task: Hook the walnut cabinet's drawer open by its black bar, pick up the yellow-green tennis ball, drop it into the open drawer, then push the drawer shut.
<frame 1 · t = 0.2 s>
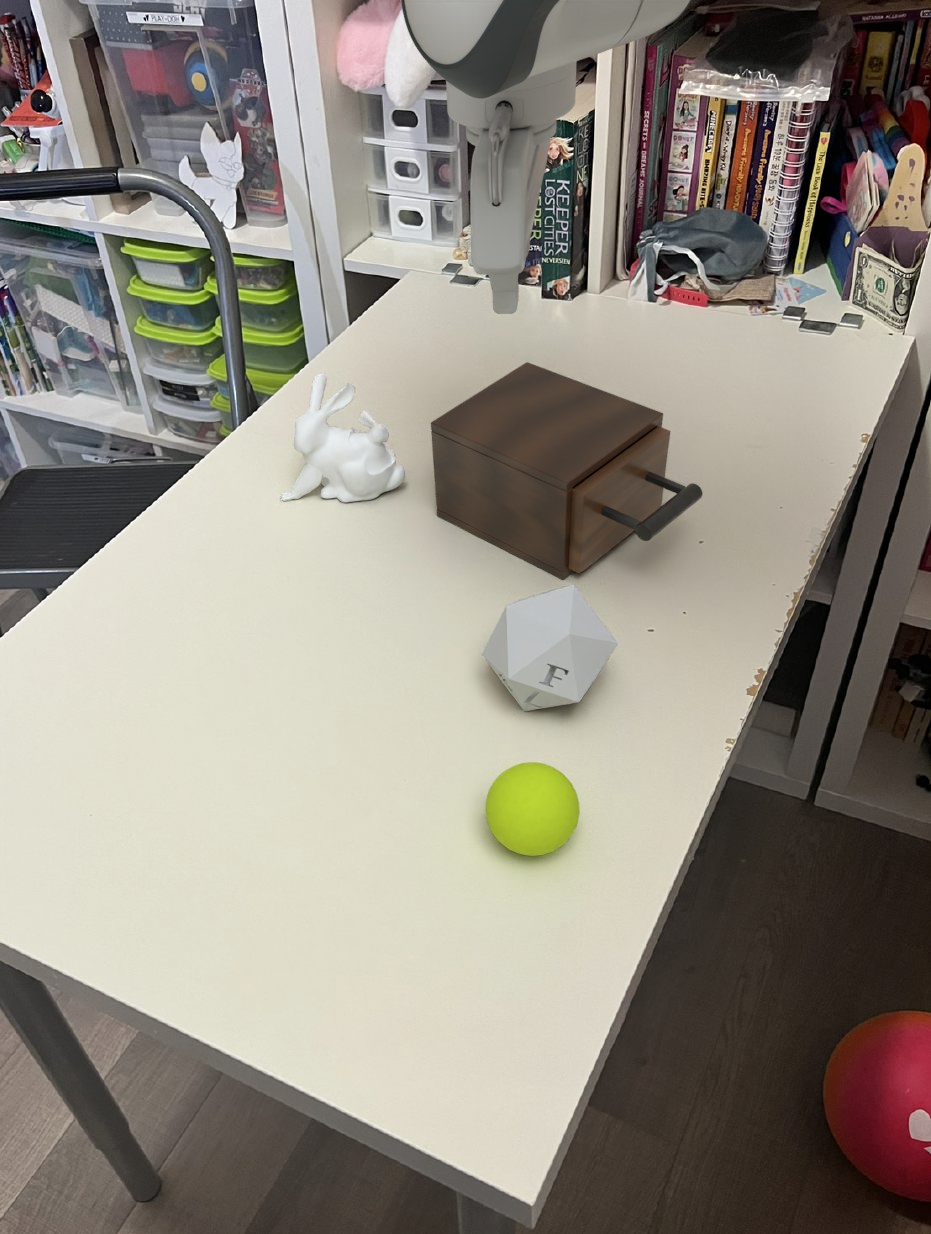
hand: (512, 281, 80), 20 cm above the table, tool pointing down, fingers open, 8 cm apart
ball: (532, 808, 66), point 3 cm above the table
cabinet: (543, 512, 93), on the table
rabbit figurine: (347, 483, 99), on the table
drawer: (583, 484, 87), point 5 cm above the table, slide at 0.0 cm
die: (547, 689, 78), on the table
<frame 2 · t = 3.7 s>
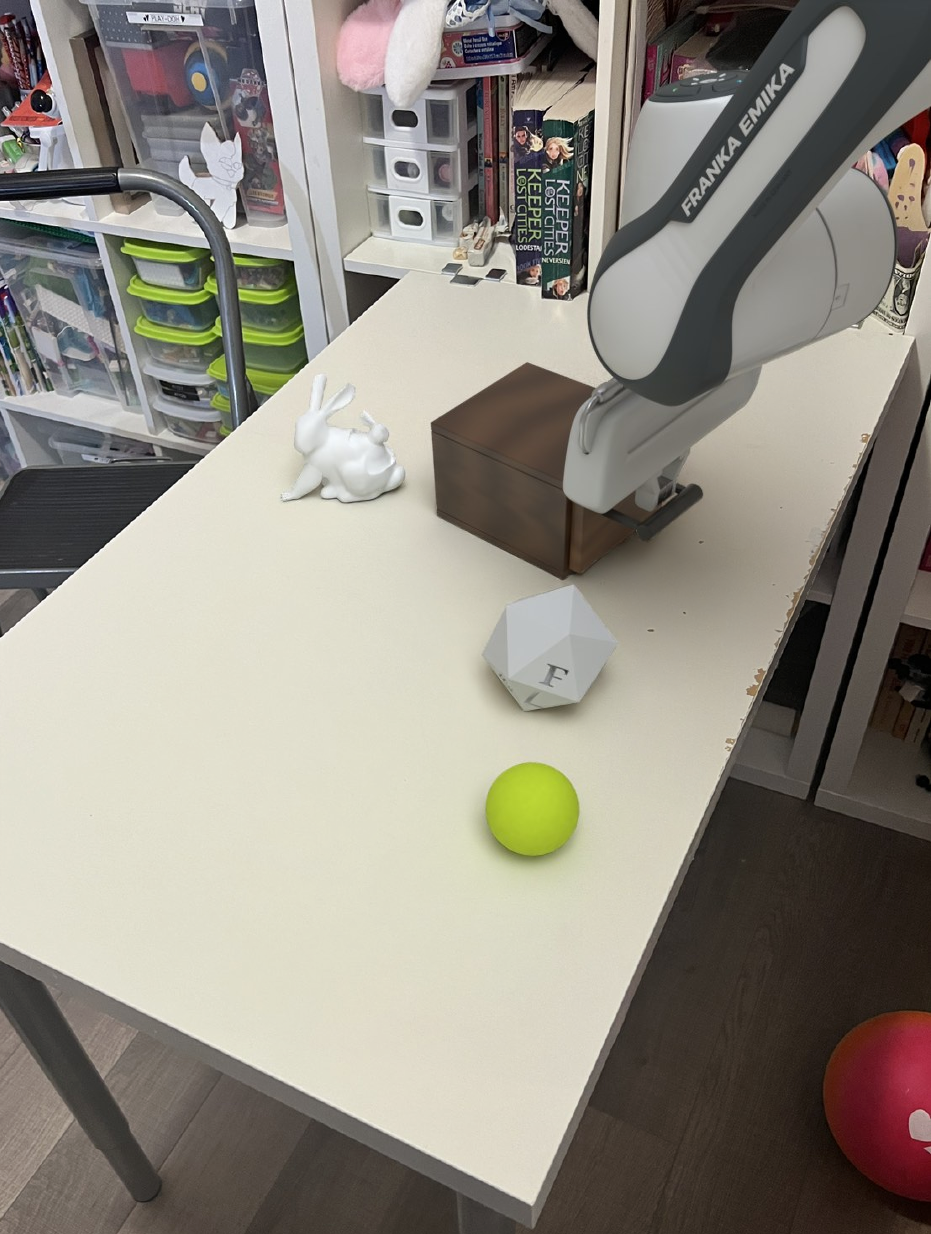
hand: (654, 500, 82), 6 cm above the table, tool pointing down, fingers closed
drawer: (584, 484, 87), point 5 cm above the table, slide at 0.1 cm, touching gripper
everything else where it was.
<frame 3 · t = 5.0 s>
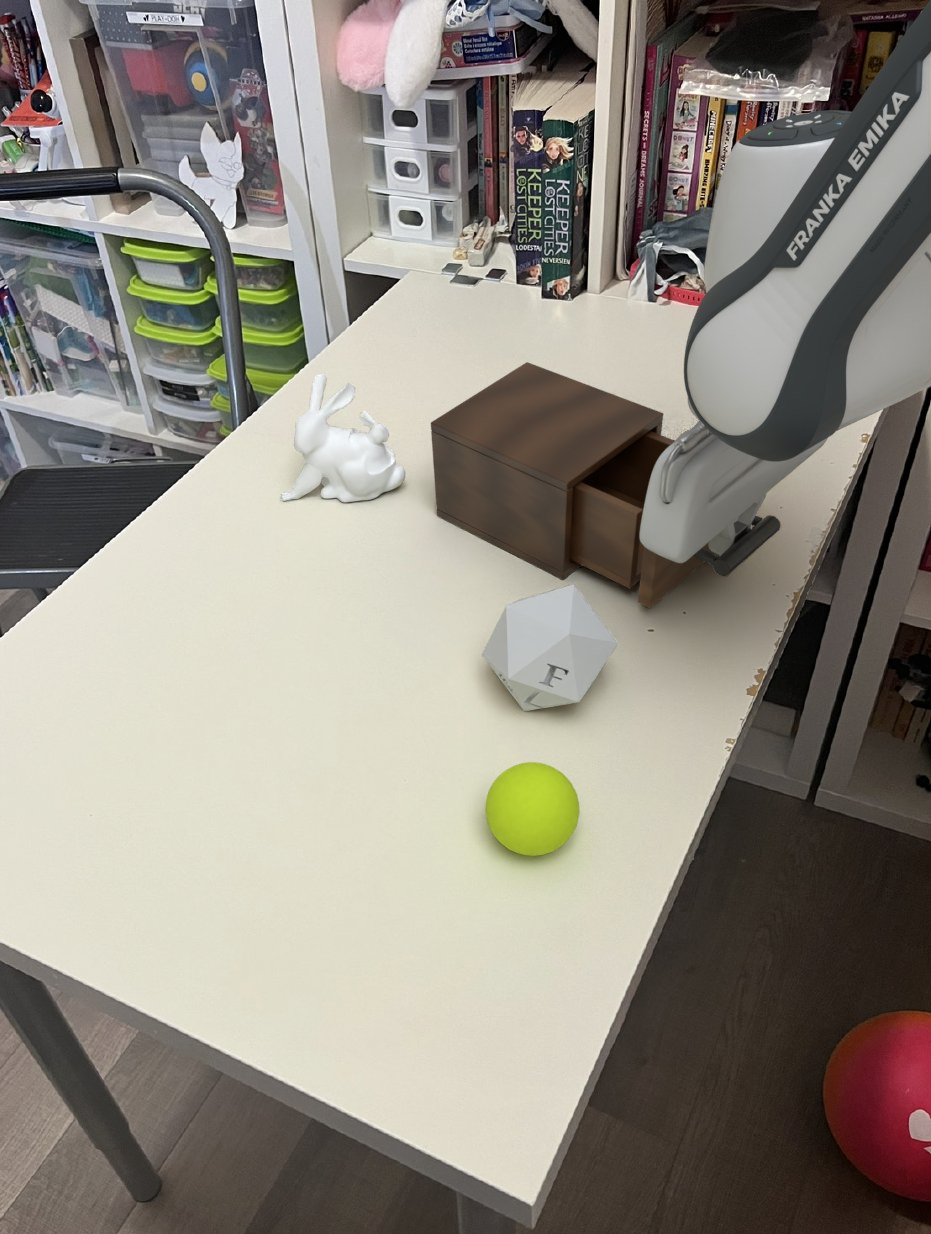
hand: (727, 545, 79), 5 cm above the table, tool pointing down, fingers closed, pressing on drawer
drawer: (652, 514, 83), point 5 cm above the table, slide at 7.0 cm, touching gripper
everything else where it was.
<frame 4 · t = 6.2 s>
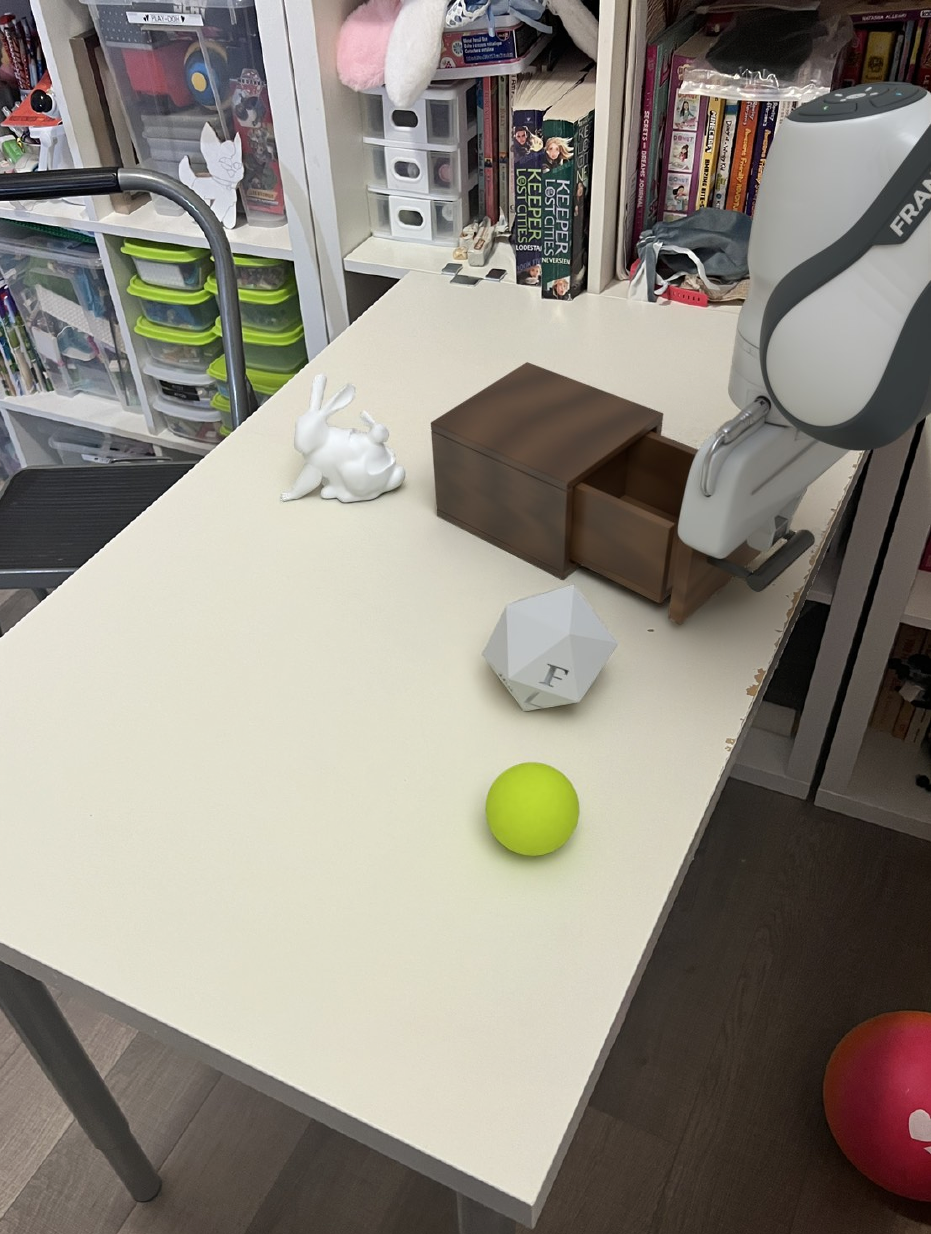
hand: (767, 540, 77), 7 cm above the table, tool pointing down, fingers closed
drawer: (682, 527, 82), point 5 cm above the table, slide at 9.8 cm
everything else where it was.
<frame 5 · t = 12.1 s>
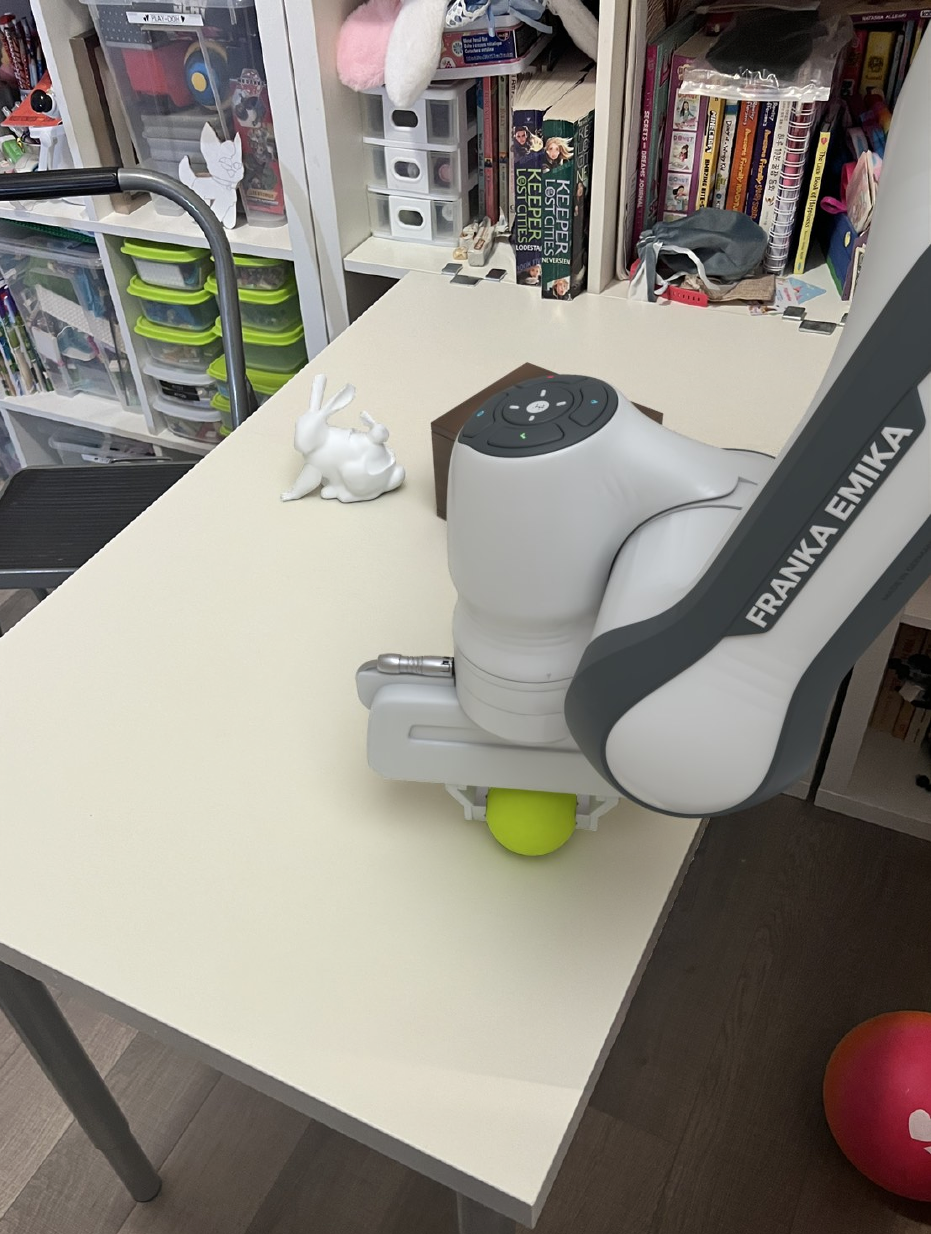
hand: (532, 817, 67), 2 cm above the table, tool pointing down, fingers closed on ball, 6 cm apart
ball: (531, 808, 66), point 3 cm above the table, touching gripper
everything else where it was.
when the fingers open (8 cm above the table, at t = 20.3 s): ball drops 3 cm, resting on drawer.
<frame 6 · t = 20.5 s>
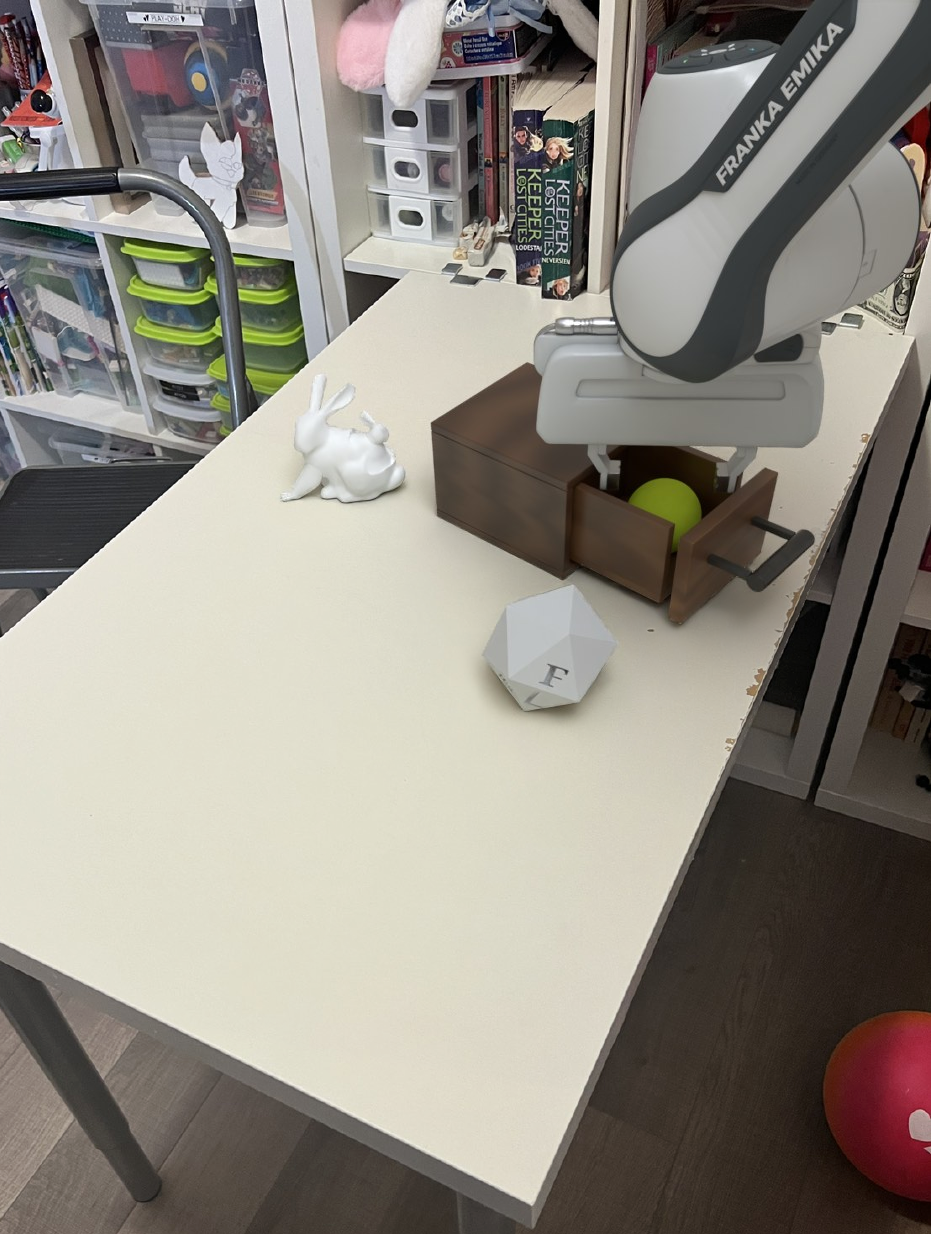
hand: (665, 487, 81), 8 cm above the table, tool pointing down, fingers open, 7 cm apart
ball: (662, 516, 83), point 5 cm above the table, touching drawer
drawer: (682, 527, 82), point 5 cm above the table, slide at 9.8 cm, touching ball
everything else where it was.
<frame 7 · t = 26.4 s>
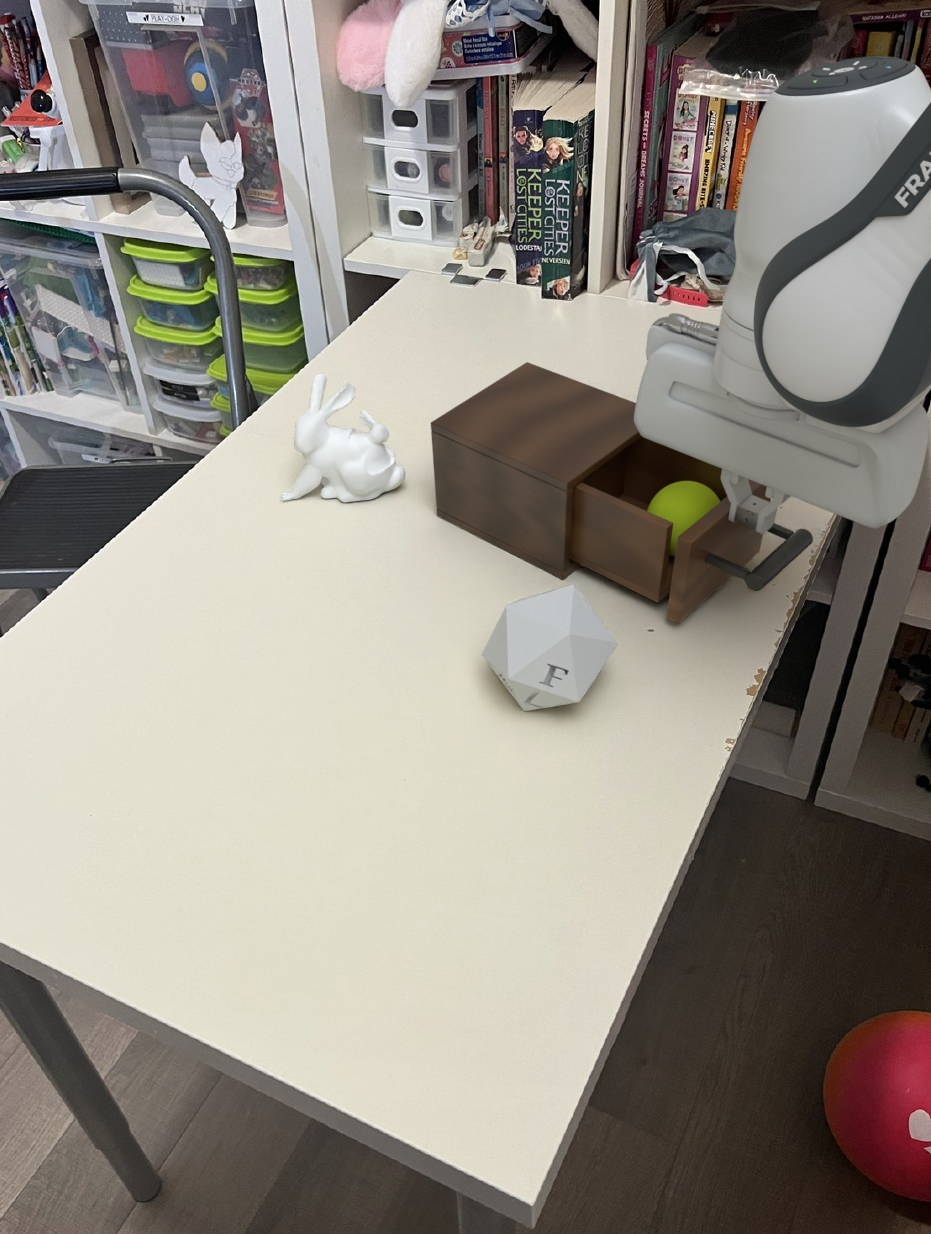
hand: (750, 523, 76), 8 cm above the table, tool pointing down, fingers closed
ball: (684, 519, 82), point 5 cm above the table, tilted 38°, touching drawer
drawer: (680, 527, 82), point 5 cm above the table, slide at 9.7 cm, touching ball, gripper
everything else where it was.
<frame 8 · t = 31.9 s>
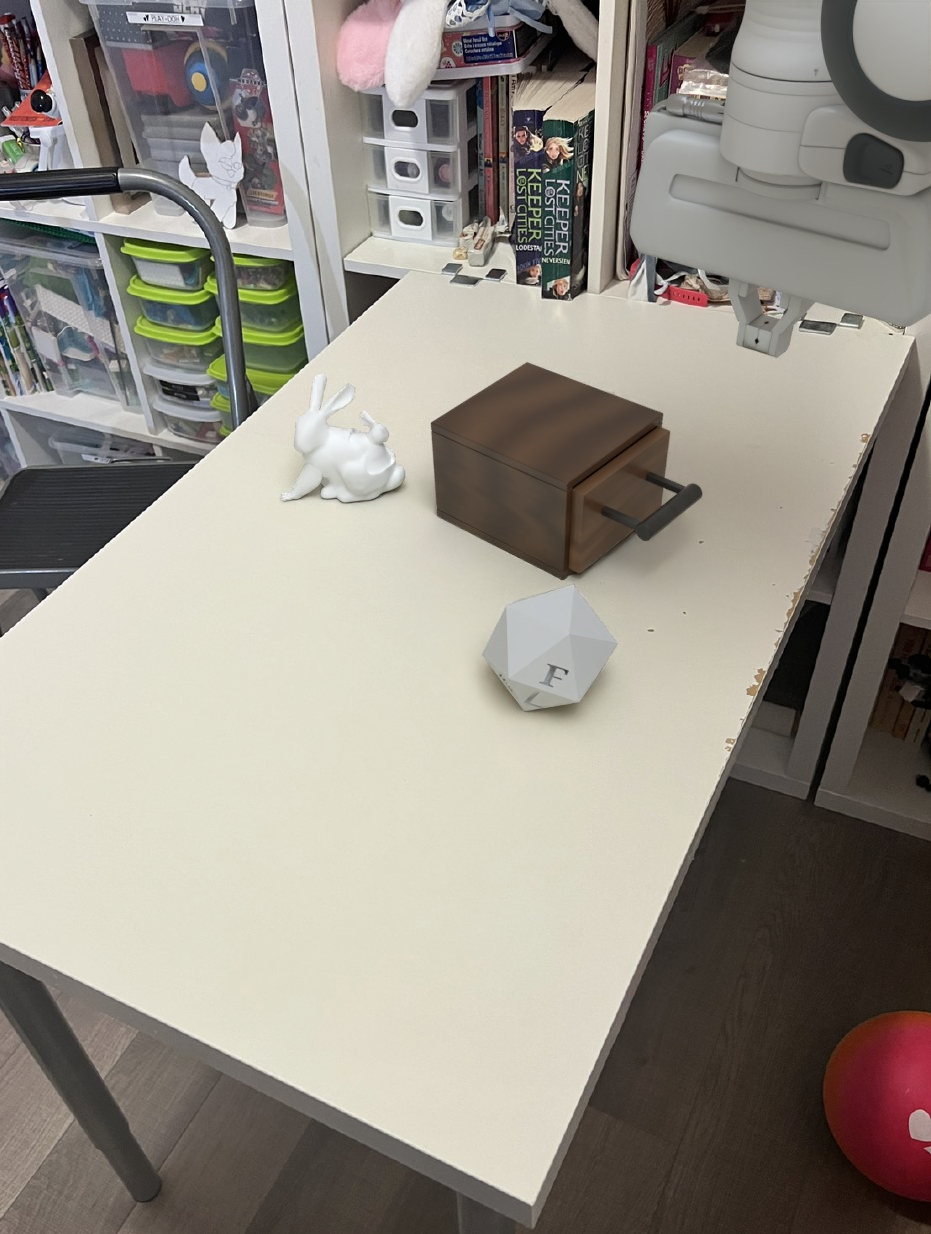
hand: (761, 348, 68), 21 cm above the table, tool pointing down, fingers closed
ball: (553, 462, 89), point 5 cm above the table, tilted 37°, touching drawer
drawer: (583, 484, 87), point 5 cm above the table, slide at 0.0 cm, touching ball
everything else where it was.
at the end: drawer pulled out 9.9 cm at the most during the clip, back to where it started at the end; ball inside the target area in the cabinet (0.9 cm from its centre), point 5.0 cm above the cabinet's base; drawer slide at 0.0 cm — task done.
